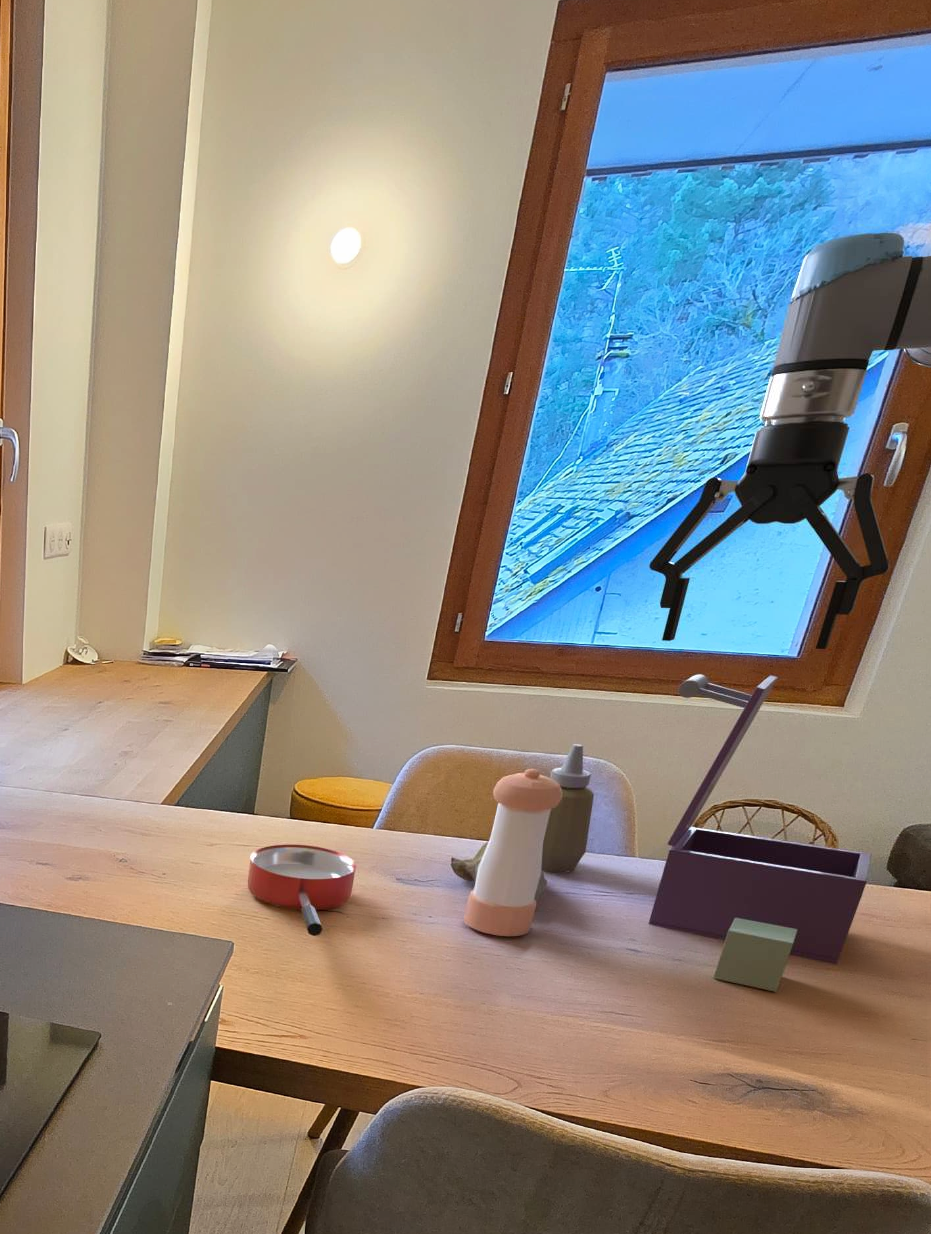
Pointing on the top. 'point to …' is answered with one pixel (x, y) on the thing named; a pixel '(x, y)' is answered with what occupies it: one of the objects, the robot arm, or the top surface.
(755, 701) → the lid
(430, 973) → the top surface
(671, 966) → the top surface
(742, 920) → the block
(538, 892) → the ceramic sculpture
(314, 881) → the frying pan
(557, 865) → the squeeze bottle
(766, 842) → the box
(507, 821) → the salt shaker
